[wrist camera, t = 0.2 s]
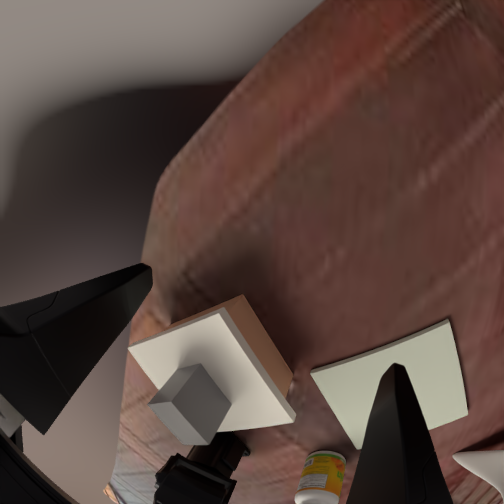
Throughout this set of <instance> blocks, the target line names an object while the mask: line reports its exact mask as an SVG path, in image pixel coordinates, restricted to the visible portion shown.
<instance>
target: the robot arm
mask: <svg viewBox="0 0 504 504" xmlns="http://www.w3.org/2000/svg"><path fill="white" fill-rule="evenodd" d="M152 286H153V278H152V268H151V267H150V266H148V265H146V264H144V263H139V264H136V265H133V266H130V267H127V268H124V269H121V270H118V271H115V272H112V273H109V274H106V275H103V276H100V277H97V278H94V279H91V280H88V281H85V282H82V283H79V284H76V285H73V286H70V287H67V288H65V289H62V290H60V291H56V292H53V293H50V294H47V295H44V296H41V297H37V298H34V299H30V300H27V301H23V302H19V303H15V304H11V305H7V306H3V307H0V504H79V503H78V502H77V501H75V500H74V499H73V498H72V497H70V496H69V495H68V494H67V493H65V492H64V491H63V490H62V489H61V488H60V487H58V486H57V485H56V484H55V483H54V482H53V481H52V480H50V479H49V478H48V477H47V476H46V475H45V474H44V473H43V472H41V470H40V469H39V468H37V467H36V466H35V465H34V464H33V463H32V462H31V461H30V460H29V459H28V458H27V457H26V456H25V455H24V453H23V442H22V426H21V424H22V423H23V422H24V421H25V419H26V420H27V421H28V422H29V423H30V424H31V425H32V426H34V427H35V428H36V429H37V430H38V431H39V432H40V433H42V434H43V435H45V433H46V432H47V431H48V429H49V428H50V426H51V425H52V424H53V422H54V421H55V419H56V418H57V417H58V415H59V414H60V412H61V411H62V410H63V408H64V407H65V405H66V404H67V403H68V401H69V400H70V399H71V397H72V396H73V394H74V393H75V392H76V390H77V389H78V388H79V386H80V385H81V383H82V382H83V381H84V380H85V378H86V377H87V376H88V374H89V373H90V372H91V370H92V369H93V368H94V366H95V365H96V364H97V363H98V361H99V360H100V359H101V357H102V356H103V355H104V353H105V352H106V351H107V350H108V348H109V347H110V346H111V345H112V343H113V342H114V341H115V339H116V338H117V337H118V336H119V334H120V333H121V332H122V331H123V329H124V328H125V327H126V326H127V324H128V323H129V322H130V321H131V319H132V318H133V316H134V315H135V313H136V312H137V310H138V309H139V307H140V305H141V304H142V302H143V301H144V299H145V298H146V296H147V295H148V293H149V292H150V290H151V288H152ZM434 450H435V449H434V446H433V443H432V439H431V436H430V433H429V430H428V427H427V424H426V421H425V419H424V416H423V413H422V410H421V407H420V404H419V402H418V399H417V396H416V394H415V391H414V388H413V386H412V383H411V380H410V378H409V375H408V373H407V370H406V368H405V366H404V365H401V364H398V363H393V364H392V365H391V366H390V367H389V368H388V369H387V370H386V372H385V373H384V374H383V375H382V377H381V379H380V382H379V385H378V389H377V392H376V396H375V399H374V402H373V405H372V409H371V412H370V415H369V418H368V422H367V427H366V431H365V436H364V440H363V445H362V449H361V453H360V457H359V461H358V464H357V468H356V472H355V475H354V479H353V482H352V486H351V489H350V492H349V496H348V499H347V502H346V504H454V503H453V501H452V498H451V495H450V493H449V490H448V487H447V485H446V482H445V479H444V477H443V474H442V471H441V468H440V465H439V462H438V458H437V455H436V452H435V451H434ZM249 455H250V452H249V450H248V449H247V448H246V447H245V446H244V445H243V444H242V443H241V442H240V441H239V440H238V438H237V437H236V436H235V435H234V434H233V433H232V432H231V431H224V432H216V434H215V436H214V437H213V439H212V441H211V443H210V444H209V445H194V446H193V448H192V449H191V451H190V452H189V454H188V455H187V457H186V458H185V457H183V456H181V454H179V453H177V454H176V455H175V456H171V457H170V458H169V460H168V461H167V463H166V464H165V465H164V466H163V467H162V468H161V469H160V470H159V471H158V472H157V473H156V475H155V477H156V484H155V488H157V491H156V492H155V494H154V501H153V504H228V502H229V499H230V497H231V495H232V492H233V490H234V488H235V485H236V483H237V481H236V480H234V479H233V480H232V479H230V476H231V474H232V472H233V471H235V470H236V468H237V466H238V464H239V462H240V459H241V457H242V456H249Z"/></svg>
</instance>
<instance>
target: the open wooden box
mask: <svg viewBox="0 0 504 504" xmlns="http://www.w3.org/2000/svg"><path fill="white" fill-rule="evenodd" d="M223 307H225V309H226V311H227V312H228V314H229V315H230V317H231V318H232V320H233V322H234V323H235V325H236V326H237V328H238V329H239V331H240V332H241V334H242V336H243V337H244V339H245V340H246V342H247V343H248V345H249V346H250V348H251V349H252V351H253V352H254V354H255V355H256V357H257V358H258V360H259V361H260V363H261V364H262V366H263V367H264V369H265V370H266V372H267V373H268V375H269V376H270V378H271V379H272V380H273V382H274V383H275V385H276V386H277V388H278V389H279V391H280V392H281V393H282V395H283V396H284V398H286V396H287V393H288V390H289V387H290V384H291V381H292V378H293V373H292V372H291V370H290V369H289V367H288V365H287V364H286V362H285V361H284V359H283V357H282V356H281V354H280V353H279V351H278V350H277V348H276V346H275V345H274V343H273V342H272V340H271V338H270V337H269V335H268V334H267V332H266V330H265V329H264V327H263V326H262V324H261V322H260V321H259V319H258V318H257V316H256V314H255V313H254V311H253V309H252V308H251V306H250V305H249V303H248V301H247V300H246V298H245V296H244V295H243V294H242V295H240V296H237V297H235V298H233V299H230V300H228V301H226V302H223V303H221V304H219V305H216V306H214V307H212V308H209V309H207V310H204V311H202V312H200V313H197V314H195V315H192V316H190V317H188V318H185V319H183V320H180V321H178V322H175V323H173V324H171V325H169V326H168V327H167V328H166V329H165V330H164V331H166V330H168V329H171V328H173V327H176V326H178V325H181V324H183V323H186V322H188V321H191V320H193V319H196V318H198V317H201V316H203V315H206V314H208V313H210V312H213V311H215V310H218V309H220V308H223Z"/></svg>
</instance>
